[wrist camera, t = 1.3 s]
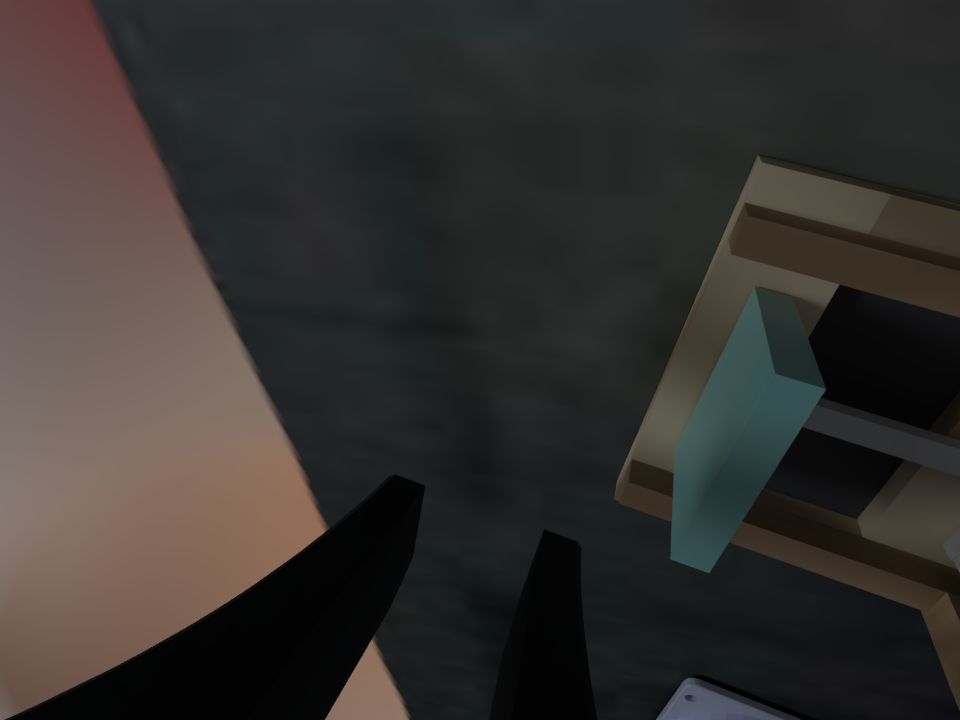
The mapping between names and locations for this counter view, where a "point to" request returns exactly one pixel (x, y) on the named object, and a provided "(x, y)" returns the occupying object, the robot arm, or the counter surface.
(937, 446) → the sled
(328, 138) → the counter surface
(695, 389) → the tunnel board
